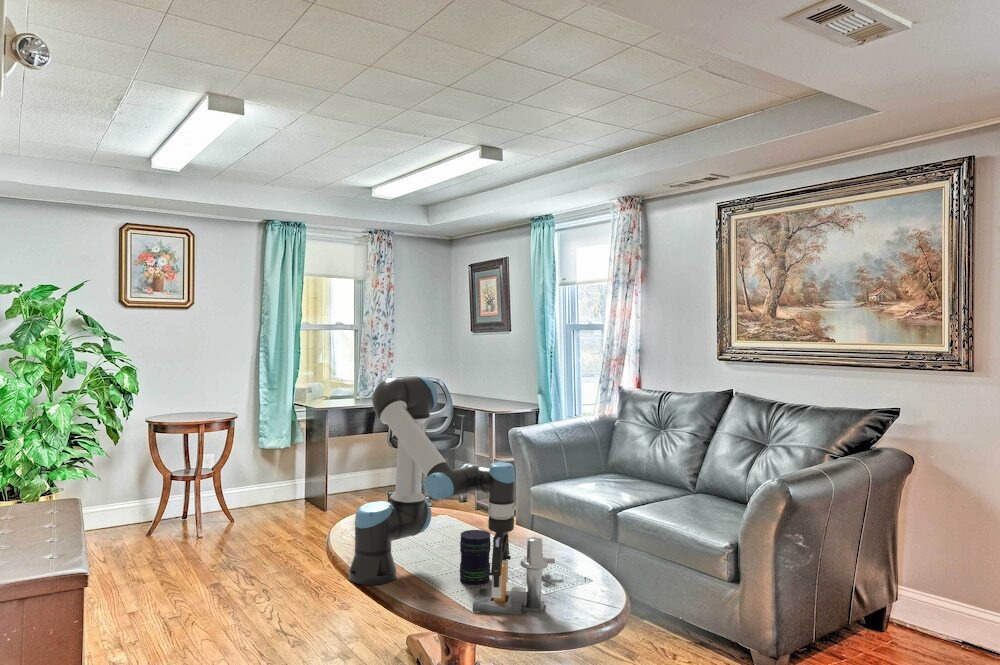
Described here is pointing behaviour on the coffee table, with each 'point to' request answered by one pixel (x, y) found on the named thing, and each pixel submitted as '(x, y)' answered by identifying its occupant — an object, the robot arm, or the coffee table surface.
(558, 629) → the coffee table surface
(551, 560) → the pipe connector
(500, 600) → the tan rectangular block
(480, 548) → the storage jar
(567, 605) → the coffee table surface
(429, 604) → the coffee table surface
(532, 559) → the rosette node
